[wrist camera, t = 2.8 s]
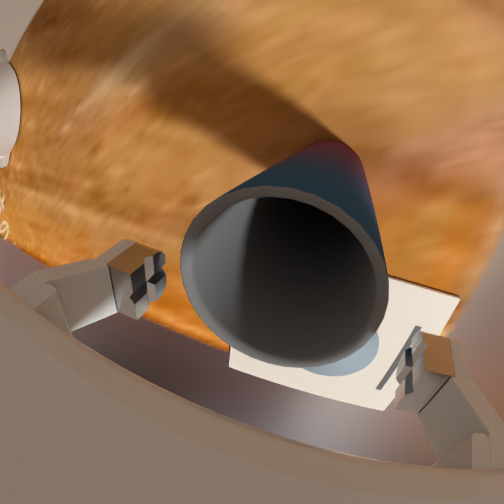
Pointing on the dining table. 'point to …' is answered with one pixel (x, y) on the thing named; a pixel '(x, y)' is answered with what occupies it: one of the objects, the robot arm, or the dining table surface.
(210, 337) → the dining table surface
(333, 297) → the cup
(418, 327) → the paper sheet
